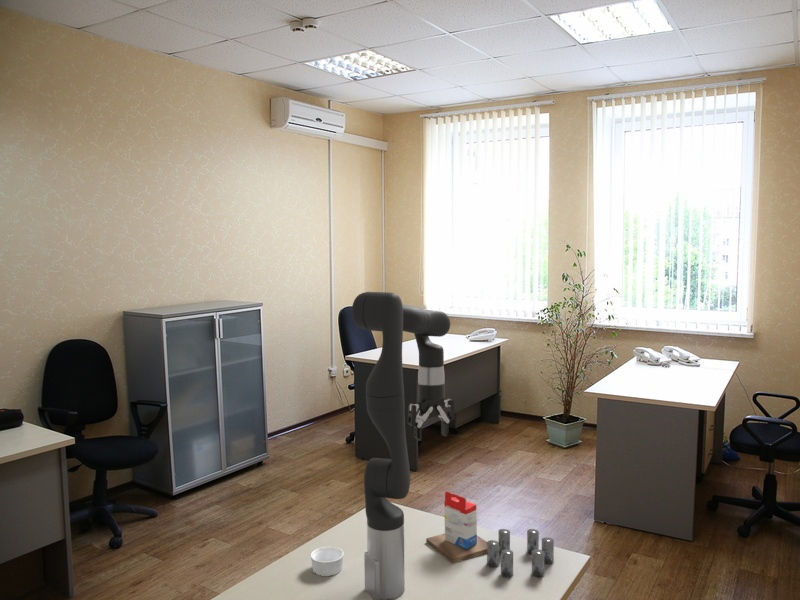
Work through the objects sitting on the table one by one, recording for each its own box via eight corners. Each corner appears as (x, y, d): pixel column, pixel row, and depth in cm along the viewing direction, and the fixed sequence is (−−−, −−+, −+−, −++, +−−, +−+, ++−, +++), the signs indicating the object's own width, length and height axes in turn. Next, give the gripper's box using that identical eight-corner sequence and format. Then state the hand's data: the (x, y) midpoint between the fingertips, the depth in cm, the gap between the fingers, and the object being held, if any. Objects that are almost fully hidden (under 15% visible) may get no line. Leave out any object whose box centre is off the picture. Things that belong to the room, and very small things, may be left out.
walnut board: (452, 563, 165) (452, 558, 165) (426, 542, 177) (426, 538, 177) (494, 550, 172) (494, 546, 171) (465, 531, 184) (465, 527, 184)
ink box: (477, 544, 173) (477, 494, 172) (466, 550, 170) (466, 499, 169) (455, 534, 179) (454, 486, 178) (443, 540, 176) (443, 490, 175)
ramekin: (326, 558, 168) (326, 543, 168) (350, 567, 163) (350, 551, 163) (303, 571, 161) (303, 555, 161) (328, 581, 156) (328, 565, 156)
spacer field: (516, 586, 153) (516, 563, 153) (475, 557, 168) (475, 536, 168) (566, 568, 161) (566, 547, 161) (524, 542, 176) (524, 522, 176)
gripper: (445, 377, 178) (445, 431, 179) (402, 381, 171) (403, 438, 172) (459, 381, 172) (459, 437, 172) (416, 386, 165) (416, 444, 166)
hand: (431, 437), depth 172 cm, fingers open, 8 cm apart
